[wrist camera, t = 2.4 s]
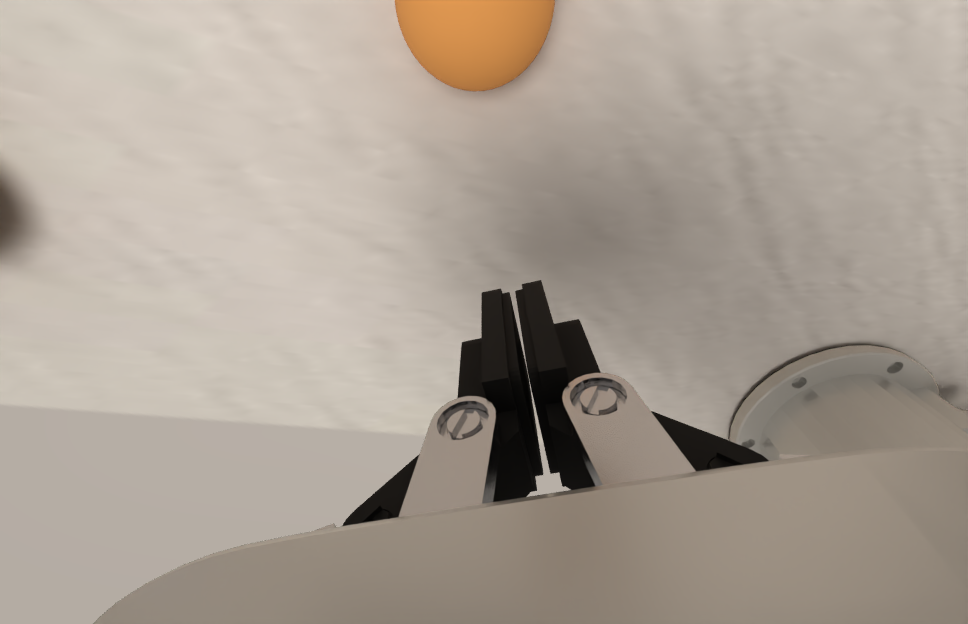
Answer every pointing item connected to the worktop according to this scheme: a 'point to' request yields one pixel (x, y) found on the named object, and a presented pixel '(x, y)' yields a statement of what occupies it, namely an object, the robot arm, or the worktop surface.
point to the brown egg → (475, 38)
